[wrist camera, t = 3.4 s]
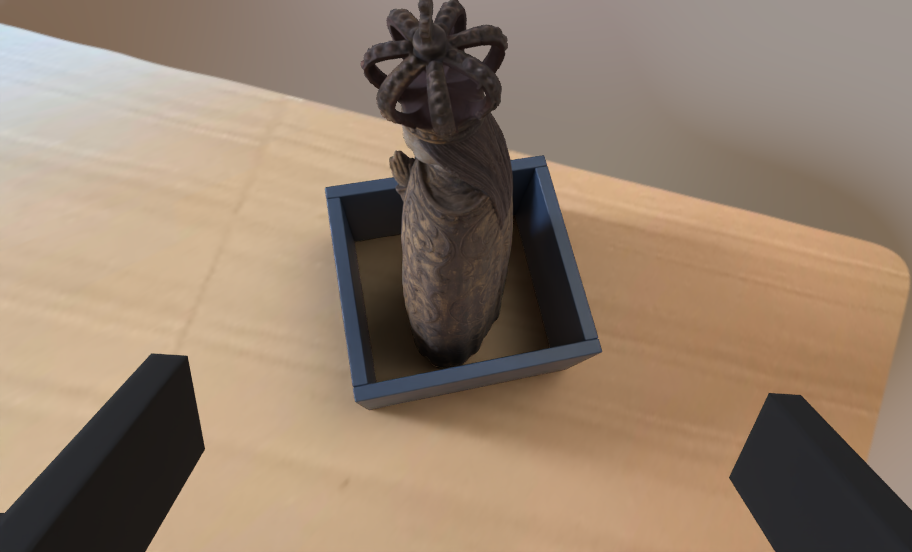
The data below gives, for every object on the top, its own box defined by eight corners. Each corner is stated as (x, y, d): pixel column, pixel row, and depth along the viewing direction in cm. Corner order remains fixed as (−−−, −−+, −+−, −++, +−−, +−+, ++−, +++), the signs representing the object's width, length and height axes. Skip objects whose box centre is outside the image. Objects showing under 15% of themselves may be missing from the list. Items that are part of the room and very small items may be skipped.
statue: (384, 263, 35) (309, -98, 11) (482, 231, 36) (597, -152, 13) (424, 379, 33) (436, 223, 9) (528, 340, 34) (772, 117, 10)
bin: (567, 369, 34) (603, 352, 27) (368, 410, 32) (354, 402, 25) (522, 205, 37) (544, 154, 31) (342, 233, 36) (324, 186, 29)
